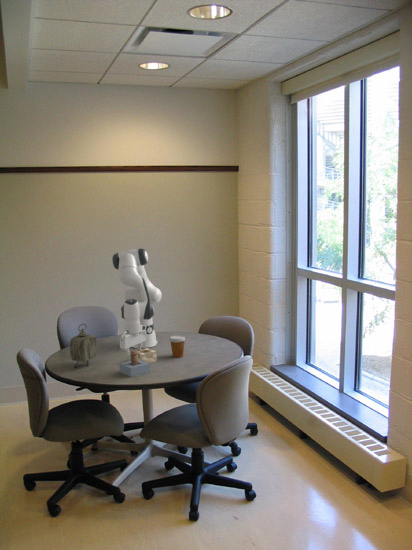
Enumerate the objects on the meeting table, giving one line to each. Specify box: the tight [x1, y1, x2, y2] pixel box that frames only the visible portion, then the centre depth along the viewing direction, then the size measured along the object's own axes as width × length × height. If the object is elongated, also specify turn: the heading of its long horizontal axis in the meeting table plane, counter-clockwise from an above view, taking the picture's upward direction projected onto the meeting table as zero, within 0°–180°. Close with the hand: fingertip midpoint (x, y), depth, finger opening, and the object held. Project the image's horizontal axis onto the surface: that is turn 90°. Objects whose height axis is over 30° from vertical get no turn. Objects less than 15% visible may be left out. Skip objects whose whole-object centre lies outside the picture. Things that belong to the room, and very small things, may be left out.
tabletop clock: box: [69, 323, 98, 368], centre depth 329 cm, size 14×9×25 cm, turn 152°
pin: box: [130, 350, 138, 366], centre depth 315 cm, size 4×4×12 cm
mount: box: [138, 347, 158, 364], centre depth 336 cm, size 10×10×6 cm
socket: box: [119, 360, 151, 378], centre depth 315 cm, size 12×12×5 cm
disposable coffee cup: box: [169, 334, 186, 359], centre depth 343 cm, size 10×10×12 cm
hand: (133, 353), depth 314 cm, fingers open, 8 cm apart
